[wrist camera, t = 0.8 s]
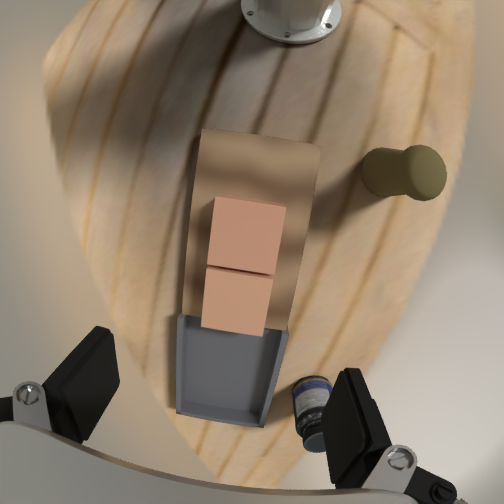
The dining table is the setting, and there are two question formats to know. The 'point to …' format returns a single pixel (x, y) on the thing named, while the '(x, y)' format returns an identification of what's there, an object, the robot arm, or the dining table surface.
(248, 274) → the tile rear
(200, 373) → the tray
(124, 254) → the dining table surface
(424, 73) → the dining table surface
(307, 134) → the dining table surface
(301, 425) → the pill bottle
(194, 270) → the board
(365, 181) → the cork
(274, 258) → the tile front
